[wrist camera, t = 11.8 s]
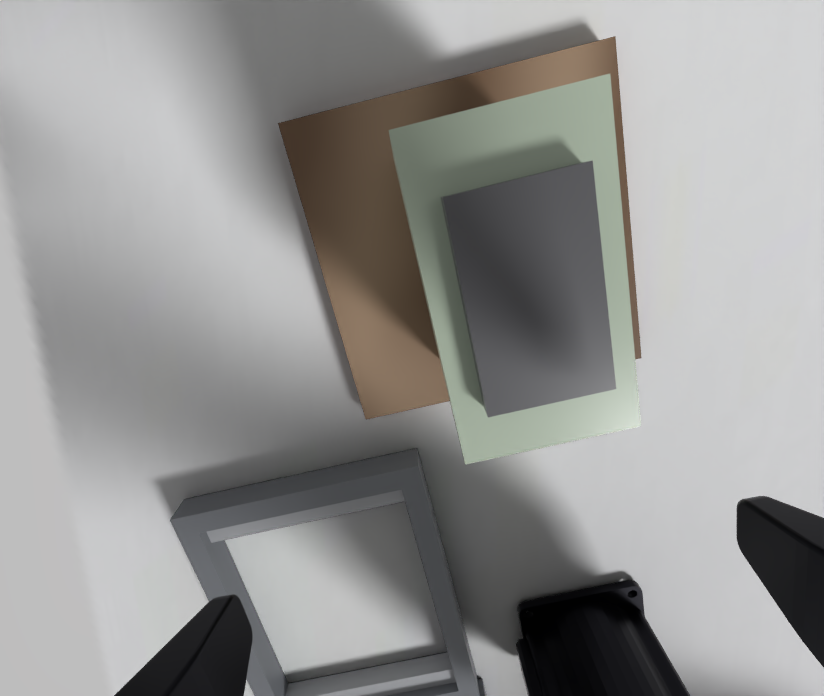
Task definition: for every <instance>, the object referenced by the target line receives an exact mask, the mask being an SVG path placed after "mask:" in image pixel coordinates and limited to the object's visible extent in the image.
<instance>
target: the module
mask: <svg viewBox="0 0 824 696" xmlns="http://www.w3.org/2000/svg"><path fill="white" fill-rule="evenodd" d="M389 136H390V142H391V147H392V153H393V159H394V163H395V167H396V172H397V176H398V180H399V185H400V189H401V193H402V198H403V202H404V206H405V211H406V215H407V219H408V224H409V228H410V232H411V237H412V241H413V245H414V250H415V254H416V259H417V263H418V267H419V272H420V276H421V280H422V285H423V289H424V293H425V298H426V302H427V306H428V311H429V315H430V319H431V324H432V328H433V332H434V337H435V341H436V345H437V350H438V354H439V358H440V362H441V367H442V371H443V375H444V379H445V383H446V387H447V391H448V395H449V400H450V404H451V408H452V412H453V416H454V420H455V424H456V428H457V433H458V437H459V441H460V445H461V449H462V453H463V457H464V461H465V465H466V464H471V463H475V462H480V461H485V460H489V459H494V458H498V457H503V456H508V455H512V454H517V453H521V452H526V451H530V450H535V449H540V448H544V447H549V446H553V445H558V444H563V443H567V442H572V441H576V440H581V439H585V438H590V437H595V436H599V435H604V434H608V433H613V432H618V431H622V430H627V429H631V428H636V427H640V426H641V420H640V408H639V397H638V385H637V374H636V362H635V351H634V339H633V328H632V317H631V305H630V294H629V282H628V271H627V259H626V248H625V236H624V225H623V214H622V202H621V191H620V179H619V168H618V156H617V145H616V134H615V122H614V111H613V99H612V88H611V76H610V74H606V75H602V76H598V77H594V78H590V79H586V80H582V81H579V82H575V83H571V84H567V85H563V86H559V87H555V88H551V89H547V90H543V91H539V92H535V93H532V94H528V95H524V96H520V97H516V98H512V99H508V100H504V101H500V102H496V103H492V104H489V105H485V106H481V107H477V108H473V109H469V110H465V111H461V112H457V113H453V114H449V115H446V116H442V117H438V118H434V119H430V120H426V121H422V122H418V123H414V124H410V125H406V126H402V127H399V128H395V129H391V130H389Z"/></svg>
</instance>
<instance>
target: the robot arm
mask: <svg viewBox="0 0 824 696" xmlns="http://www.w3.org/2000/svg"><path fill="white" fill-rule="evenodd" d="M737 542H738V545H739V548H740V550H741V552H742V553H743V555H744V556H745V558H746V559H747V561H748V562H749V564H750V565H751V567H752V568H753V570H754V571H755V573H756V574H757V576H758V577H759V578H760V580H761V581H762V583H763V584H764V586H765V587H766V589H767V590H768V592H769V593H770V595H771V596H772V598H773V599H774V601H775V602H776V603H777V605H778V606H779V608H780V609H781V611H782V612H783V614H784V615H785V617H786V618H787V620H788V621H789V623H790V624H791V625H792V627H793V628H794V630H795V631H796V632H797V634H798V635H799V637H800V638H801V639H802V641H803V642H804V643H805V645H806V646H807V647H808V648H809V650H810V651H811V652H812V654H813V655H814V656H815V657H816V659H817V660H818V661H819V662H820V663H821V665H822V666H823V667H824V518H822V517H820V516H817V515H814V514H812V513H809V512H807V511H804V510H801V509H799V508H796V507H793V506H791V505H788V504H785V503H783V502H780V501H777V500H775V499H772V498H769V497H766V496H758V497H752V498H747V499H742V500H740V501H739V502H738V504H737ZM631 590H632V591H631ZM527 611H528V612H527ZM517 612H518V616H519V621H520V626H521V631H522V635H523V638H521V639H518V641H517V643H516V647H517V651H518V656H519V660H520V665H521V670H522V674H523V678H524V682H525V686H526V690H527V694H528V696H690V694H689V693H688V691H687V689H686V687H685V686H684V684H683V682H682V681H681V679H680V677H679V675H678V674H677V672H676V670H675V668H674V667H673V665H672V663H671V662H670V660H669V658H668V656H667V655H666V653H665V651H664V649H663V648H662V646H661V644H660V643H659V641H658V639H657V637H656V636H655V634H654V632H653V630H652V629H651V627H650V625H649V623H648V622H647V620H646V618H645V616H644V606H643V595H642V590H641V588H640V587H639V585H638V583H637V582H635V581H632V580H628V581H623V582H618V583H613V584H608V585H603V586H598V587H593V588H589V589H584V590H579V591H574V592H569V593H564V594H559V595H554V596H549V597H544V598H539V599H534V600H529V601H524V602H522V603H520V604H519V605H518V607H517ZM252 640H253V633H252V627H251V624H250V622H249V619H248V617H247V615H246V612H245V610H244V607H243V605H242V602H241V600H240V598H239V597H238V596H237V595H235V594H230V595H225V596H220V597H216V598H213V599H212V600H211V601H210V602H209V603H208V604H207V605H205V606H204V607H203V608H202V609H201V610H200V611H199V612H198V613H197V614H196V615H195V616H194V617H193V618H192V619H191V620H190V621H189V622H188V623H187V624H186V625H185V626H184V627H183V628H182V629H181V630H180V631H179V632H178V633H177V634H176V635H175V636H174V637H173V638H172V639H171V640H170V641H169V642H168V643H167V644H166V645H165V646H164V647H163V648H162V649H161V650H160V651H159V652H158V653H157V654H156V655H155V656H154V657H153V658H152V659H151V660H150V661H149V662H148V663H147V664H146V665H145V666H144V667H143V668H142V669H141V670H140V671H139V672H138V673H137V674H136V675H135V676H134V677H133V678H132V679H131V680H130V681H129V682H128V683H127V684H126V685H125V686H124V687H123V688H122V689H121V690H120V691H118V692H117V693H116V694H115V695H114V696H244V690H245V684H246V678H247V672H248V666H249V659H250V653H251V647H252Z"/></svg>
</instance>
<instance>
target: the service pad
mask: <svg viewBox="0 0 824 696" xmlns="http://www.w3.org/2000/svg"><path fill="white" fill-rule="evenodd" d="M606 74H610V76H611V88H612V99H613V111H614V122H615V134H616V145H617V156H618V168H619V179H620V191H621V202H622V214H623V225H624V236H625V248H626V259H627V271H628V282H629V294H630V305H631V317H632V328H633V339H634V351H635V359H639V358H641V347H640V335H639V323H638V310H637V298H636V286H635V274H634V261H633V249H632V237H631V224H630V212H629V200H628V187H627V175H626V163H625V151H624V138H623V126H622V114H621V101H620V89H619V77H618V64H617V52H616V40H615V37H611V38H607V39H603V40H599V41H595V42H592V43H588V44H584V45H580V46H576V47H572V48H568V49H564V50H561V51H557V52H553V53H549V54H545V55H541V56H537V57H533V58H530V59H526V60H522V61H518V62H514V63H510V64H506V65H502V66H498V67H495V68H491V69H487V70H483V71H479V72H475V73H471V74H467V75H464V76H460V77H456V78H452V79H448V80H444V81H440V82H436V83H433V84H429V85H425V86H421V87H417V88H413V89H409V90H405V91H401V92H398V93H394V94H390V95H386V96H382V97H378V98H374V99H370V100H367V101H363V102H359V103H355V104H351V105H347V106H343V107H339V108H335V109H332V110H328V111H324V112H320V113H316V114H312V115H308V116H304V117H301V118H297V119H293V120H289V121H285V122H281V123H278V125H279V128H280V131H281V135H282V138H283V141H284V145H285V148H286V152H287V155H288V158H289V162H290V165H291V168H292V172H293V175H294V179H295V182H296V185H297V189H298V192H299V195H300V199H301V202H302V206H303V209H304V212H305V216H306V219H307V222H308V226H309V229H310V233H311V236H312V239H313V243H314V246H315V249H316V253H317V256H318V260H319V263H320V266H321V270H322V273H323V277H324V280H325V283H326V287H327V290H328V293H329V297H330V300H331V304H332V307H333V310H334V314H335V317H336V320H337V324H338V327H339V331H340V334H341V337H342V341H343V344H344V347H345V351H346V354H347V358H348V361H349V364H350V368H351V371H352V374H353V378H354V381H355V385H356V388H357V391H358V395H359V398H360V401H361V405H362V408H363V412H364V415H365V418H366V419H371V418H375V417H380V416H384V415H389V414H393V413H398V412H402V411H407V410H411V409H415V408H420V407H424V406H429V405H433V404H438V403H442V402H447V401H450V400H449V395H448V391H447V387H446V383H445V379H444V375H443V371H442V367H441V362H440V358H439V354H438V350H437V345H436V341H435V337H434V332H433V328H432V324H431V319H430V315H429V311H428V306H427V302H426V298H425V293H424V289H423V285H422V280H421V276H420V272H419V267H418V263H417V259H416V254H415V250H414V245H413V241H412V237H411V232H410V228H409V224H408V219H407V215H406V211H405V206H404V202H403V198H402V193H401V189H400V185H399V180H398V176H397V172H396V167H395V163H394V159H393V153H392V147H391V142H390V136H389V130H391V129H395V128H399V127H402V126H406V125H410V124H414V123H418V122H422V121H426V120H430V119H434V118H438V117H442V116H446V115H449V114H453V113H457V112H461V111H465V110H469V109H473V108H477V107H481V106H485V105H489V104H492V103H496V102H500V101H504V100H508V99H512V98H516V97H520V96H524V95H528V94H532V93H535V92H539V91H543V90H547V89H551V88H555V87H559V86H563V85H567V84H571V83H575V82H579V81H582V80H586V79H590V78H594V77H598V76H602V75H606Z"/></svg>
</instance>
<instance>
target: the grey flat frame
mask: <svg viewBox="0 0 824 696" xmlns="http://www.w3.org/2000/svg"><path fill="white" fill-rule="evenodd" d="M404 501H405V503H406V507H407V510H408V514H409V517H410V521H411V524H412V528H413V531H414V535H415V538H416V542H417V545H418V549H419V553H420V556H421V560H422V563H423V567H424V570H425V574H426V577H427V581H428V584H429V588H430V591H431V595H432V598H433V602H434V605H435V609H436V612H437V616H438V619H439V623H440V627H441V630H442V634H443V637H444V641H445V644H446V648H447V651H448V652H447V653H442V654H437V655H432V656H427V657H421V658H416V659H411V660H406V661H401V662H396V663H391V664H386V665H381V666H376V667H371V668H366V669H361V670H356V671H351V672H346V673H341V674H335V675H330V676H325V677H320V678H315V679H310V680H305V681H300V682H295V683H290V684H288V682H287V680H286V678H285V675H284V673H283V671H282V669H281V666H280V664H279V662H278V660H277V657H276V655H275V653H274V651H273V648H272V646H271V644H270V642H269V639H268V637H267V635H266V633H265V630H264V628H263V626H262V624H261V621H260V619H259V617H258V615H257V612H256V610H255V608H254V606H253V603H252V601H251V599H250V597H249V594H248V592H247V590H246V588H245V585H244V583H243V581H242V579H241V576H240V574H239V572H238V570H237V568H236V565H235V563H234V561H233V559H232V556H231V554H230V552H229V550H228V547H227V545H226V543H225V541H224V540H227V539H232V538H236V537H241V536H246V535H250V534H255V533H259V532H264V531H269V530H273V529H278V528H283V527H287V526H292V525H297V524H301V523H306V522H311V521H315V520H320V519H325V518H329V517H334V516H339V515H343V514H348V513H353V512H357V511H362V510H367V509H371V508H376V507H381V506H385V505H390V504H395V503H399V502H404ZM170 521H171V523H172V525H173V527H174V530H175V532H176V534H177V536H178V538H179V540H180V542H181V544H182V546H183V548H184V550H185V552H186V554H187V556H188V558H189V561H190V563H191V565H192V567H193V569H194V571H195V573H196V575H197V577H198V579H199V581H200V583H201V585H202V587H203V590H204V592H205V594H206V596H207V598H208V600H209V602H210V601H211V600H212V599H213V598H216V597H220V596H225V595H230V594H235V595H237V596H238V597H239V598H240V600H241V602H242V605H243V607H244V610H245V612H246V615H247V617H248V619H249V622H250V624H251V627H252V633H253V640H252V647H251V653H250V659H249V666H248V672H247V678H246V679H247V681H248V683H249V685H250V687H251V689H252V691H253V693H254V695H255V696H487V695H486V692H485V688H484V684H483V680H482V679H478V680H477V675H476V670H475V667H474V663H473V659H472V655H471V651H470V648H469V644H468V640H467V636H466V632H465V628H464V625H463V621H462V617H461V613H460V609H459V606H458V602H457V598H456V594H455V590H454V587H453V583H452V579H451V575H450V571H449V568H448V564H447V560H446V556H445V552H444V548H443V545H442V541H441V537H440V533H439V529H438V526H437V522H436V518H435V514H434V510H433V507H432V503H431V499H430V495H429V491H428V488H427V484H426V480H425V476H424V472H423V468H422V465H421V461H420V457H419V453H418V449H417V448H416V449H412V450H407V451H402V452H398V453H393V454H389V455H384V456H380V457H375V458H371V459H366V460H361V461H357V462H352V463H348V464H343V465H339V466H334V467H330V468H325V469H320V470H316V471H311V472H307V473H302V474H298V475H293V476H289V477H284V478H280V479H275V480H270V481H266V482H261V483H257V484H252V485H248V486H243V487H239V488H234V489H229V490H225V491H220V492H216V493H211V494H207V495H202V496H198V497H193V498H189V499H184V501H183V502H182V504H181V505H180V506H179V508H178V509H177V511H176V512H175V514H174V515H173V516H172V518H171V519H170Z"/></svg>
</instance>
